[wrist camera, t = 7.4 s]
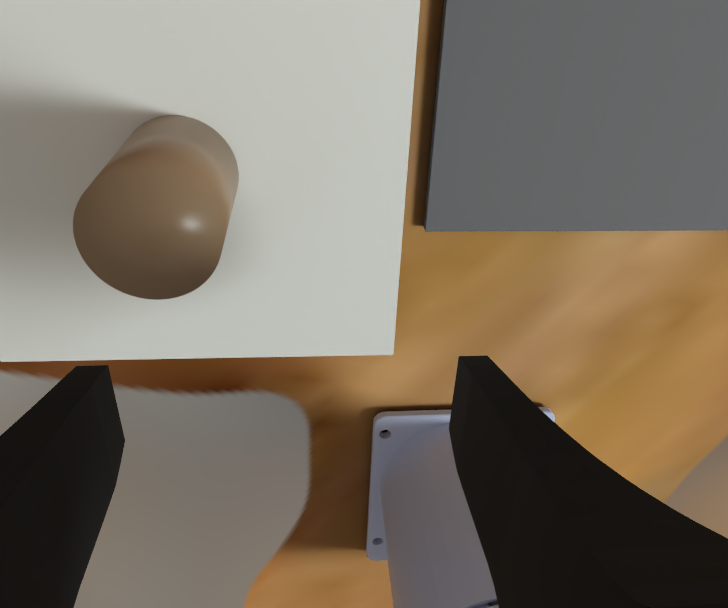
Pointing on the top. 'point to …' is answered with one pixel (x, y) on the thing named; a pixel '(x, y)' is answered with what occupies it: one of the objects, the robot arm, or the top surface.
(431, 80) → the top surface
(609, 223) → the mat
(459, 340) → the top surface
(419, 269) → the top surface
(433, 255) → the top surface
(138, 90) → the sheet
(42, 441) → the robot arm
